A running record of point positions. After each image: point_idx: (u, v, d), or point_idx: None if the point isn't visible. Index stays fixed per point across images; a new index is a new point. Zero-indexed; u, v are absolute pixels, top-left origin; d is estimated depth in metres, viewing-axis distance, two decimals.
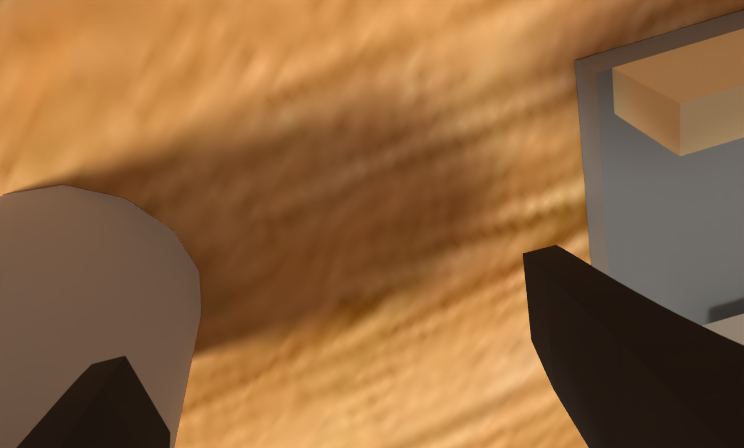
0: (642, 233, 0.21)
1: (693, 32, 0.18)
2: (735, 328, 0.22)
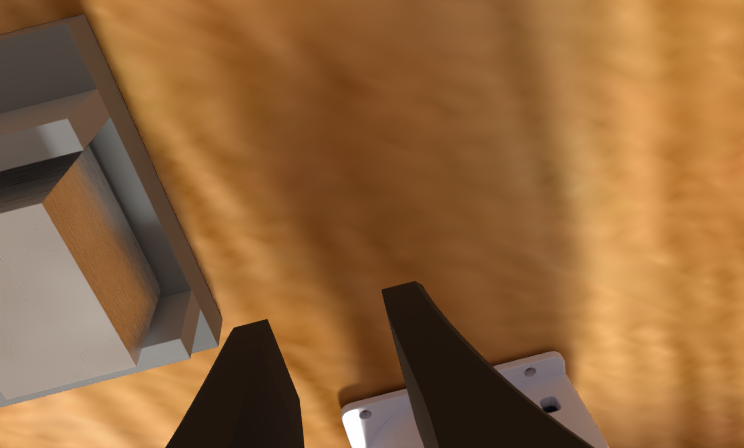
0: None
1: None
2: None
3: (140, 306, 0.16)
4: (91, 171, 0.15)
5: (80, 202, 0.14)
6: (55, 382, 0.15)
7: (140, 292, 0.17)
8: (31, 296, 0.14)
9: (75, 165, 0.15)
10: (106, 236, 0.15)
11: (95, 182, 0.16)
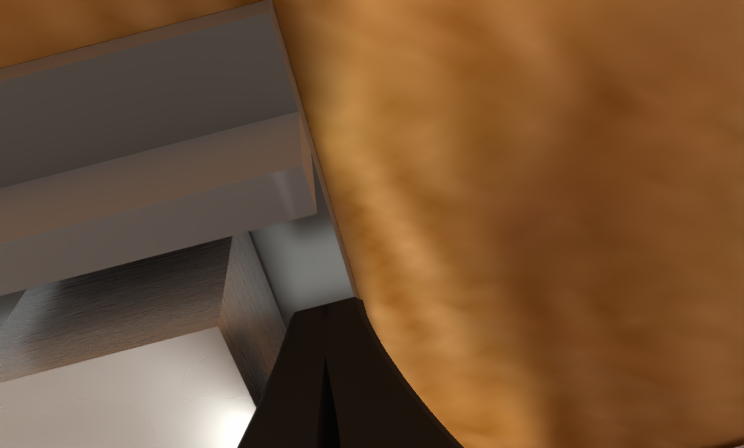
0: None
1: None
2: None
3: None
4: (245, 245, 0.10)
5: (245, 301, 0.09)
6: None
7: None
8: None
9: (233, 241, 0.10)
10: (269, 344, 0.10)
11: (250, 261, 0.10)
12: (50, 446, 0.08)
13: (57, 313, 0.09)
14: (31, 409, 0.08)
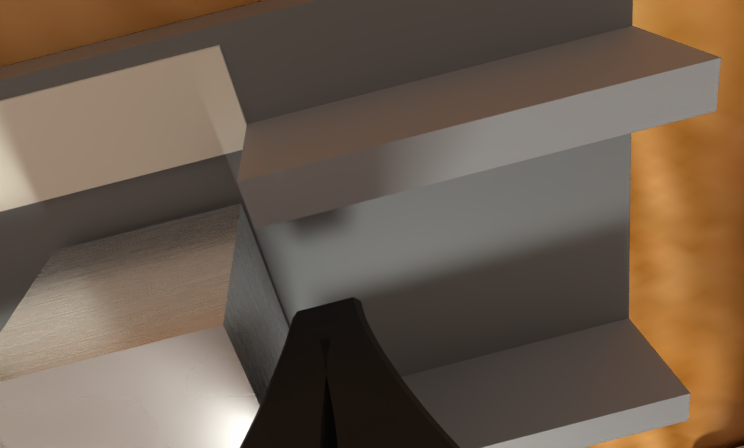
0: None
1: None
2: None
3: None
4: (249, 244, 0.10)
5: (249, 300, 0.09)
6: None
7: None
8: None
9: (237, 240, 0.10)
10: (272, 343, 0.10)
11: (254, 260, 0.10)
12: (54, 444, 0.08)
13: (61, 311, 0.09)
14: (35, 407, 0.08)
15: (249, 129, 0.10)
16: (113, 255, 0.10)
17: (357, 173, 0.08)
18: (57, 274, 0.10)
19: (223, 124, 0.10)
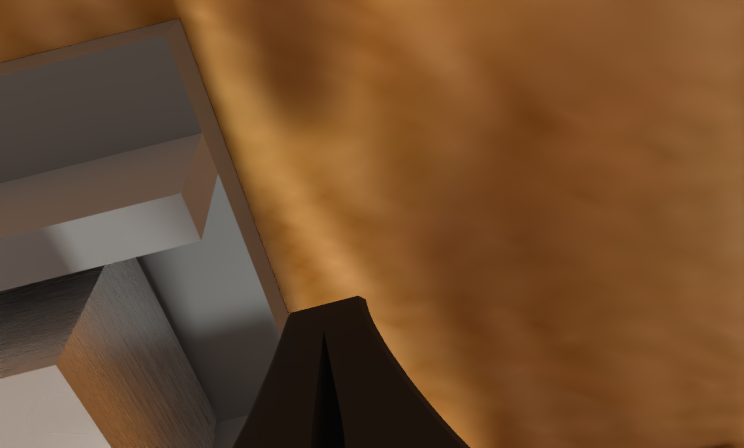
0: None
1: None
2: None
3: None
4: (126, 273, 0.10)
5: (113, 332, 0.09)
6: None
7: (194, 439, 0.11)
8: None
9: (105, 271, 0.09)
10: (149, 373, 0.10)
11: (133, 288, 0.10)
12: None
13: None
14: None
15: None
16: None
17: None
18: None
19: None
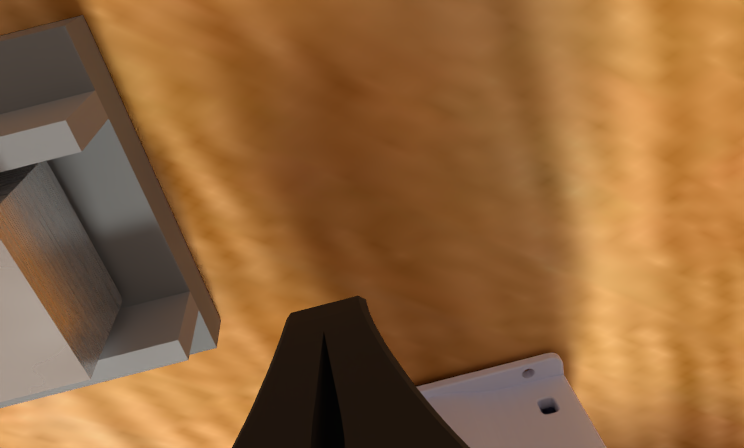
0: None
1: None
2: None
3: (97, 317, 0.16)
4: (46, 183, 0.15)
5: (32, 215, 0.14)
6: (9, 395, 0.15)
7: (98, 303, 0.17)
8: None
9: (28, 177, 0.15)
10: (60, 249, 0.15)
11: (51, 194, 0.16)
12: None
13: None
14: None
15: None
16: None
17: None
18: None
19: None
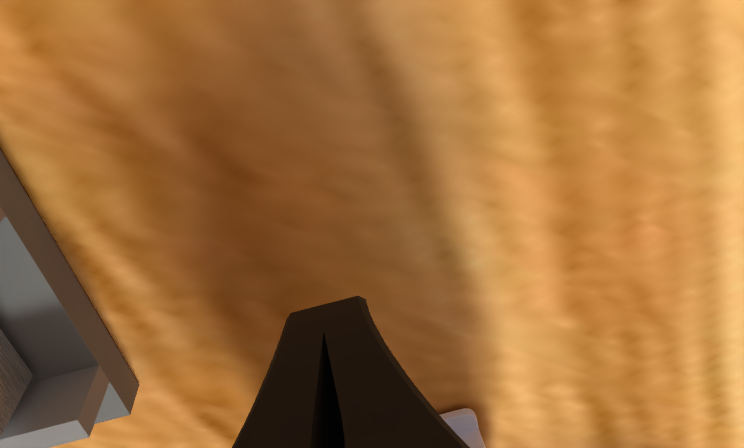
0: None
1: None
2: None
3: None
4: None
5: None
6: None
7: (1, 386, 0.18)
8: None
9: None
10: None
11: None
12: None
13: None
14: None
15: None
16: None
17: None
18: None
19: None
